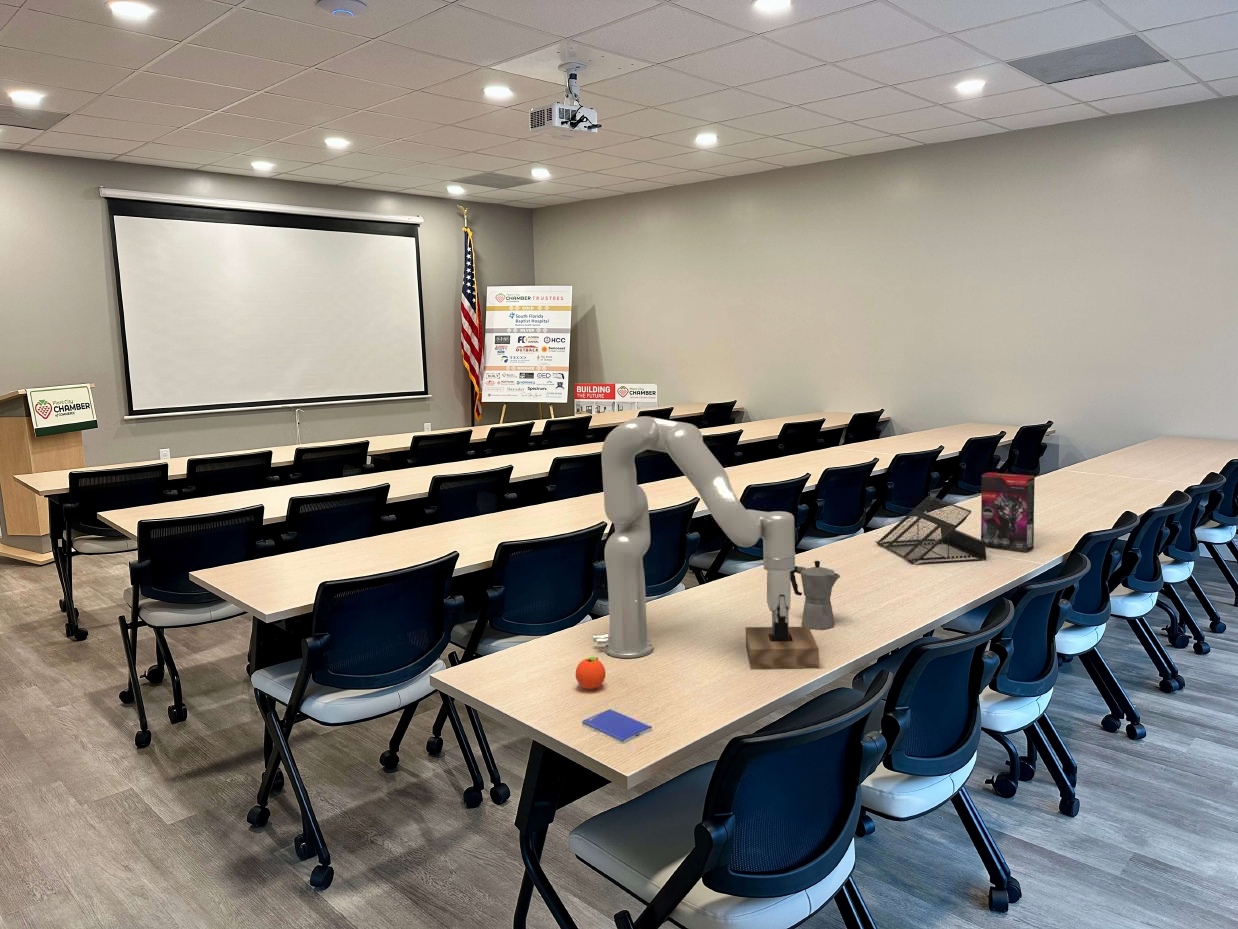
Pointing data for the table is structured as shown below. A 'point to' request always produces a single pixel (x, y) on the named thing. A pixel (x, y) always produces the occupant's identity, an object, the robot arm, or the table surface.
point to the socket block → (781, 649)
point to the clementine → (590, 673)
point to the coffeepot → (816, 595)
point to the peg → (773, 626)
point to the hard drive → (617, 726)
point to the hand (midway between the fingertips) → (780, 634)
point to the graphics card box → (1007, 511)
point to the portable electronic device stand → (948, 535)
